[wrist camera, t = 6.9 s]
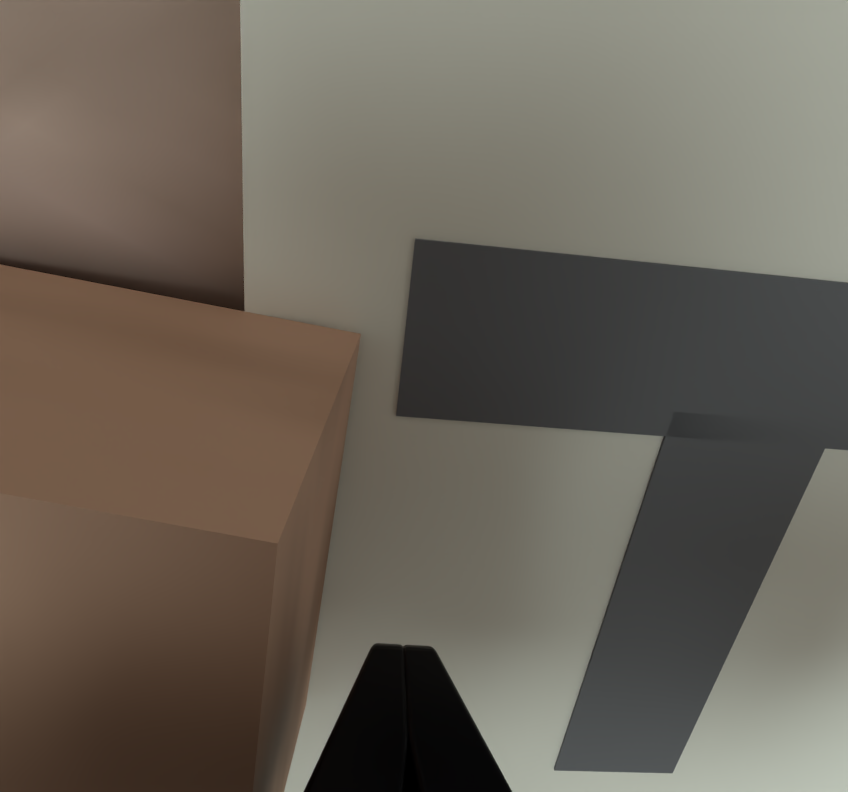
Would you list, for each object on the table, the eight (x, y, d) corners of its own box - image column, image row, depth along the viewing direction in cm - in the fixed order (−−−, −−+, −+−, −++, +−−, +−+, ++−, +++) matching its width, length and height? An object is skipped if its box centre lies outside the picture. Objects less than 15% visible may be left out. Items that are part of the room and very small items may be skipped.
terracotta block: (305, 705, 11) (231, 1001, 8) (-102, 634, 11) (-377, 906, 7) (361, 334, 8) (277, 543, 4) (-210, 223, 8) (-775, 353, 4)
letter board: (859, 830, 15) (878, 860, 15) (257, 820, 14) (251, 853, 13) (1408, 82, 8) (1486, 85, 7) (250, -86, 7) (237, -101, 6)
